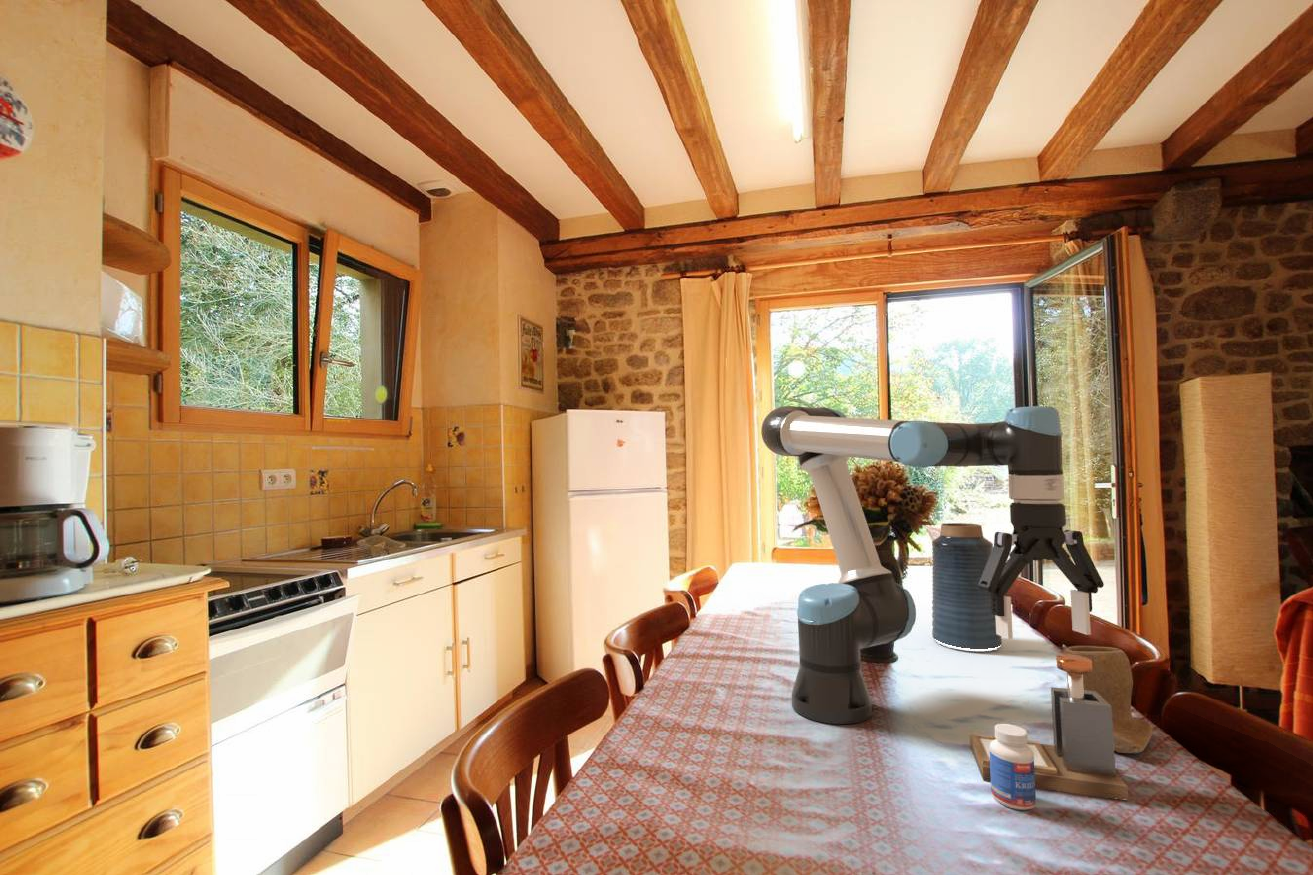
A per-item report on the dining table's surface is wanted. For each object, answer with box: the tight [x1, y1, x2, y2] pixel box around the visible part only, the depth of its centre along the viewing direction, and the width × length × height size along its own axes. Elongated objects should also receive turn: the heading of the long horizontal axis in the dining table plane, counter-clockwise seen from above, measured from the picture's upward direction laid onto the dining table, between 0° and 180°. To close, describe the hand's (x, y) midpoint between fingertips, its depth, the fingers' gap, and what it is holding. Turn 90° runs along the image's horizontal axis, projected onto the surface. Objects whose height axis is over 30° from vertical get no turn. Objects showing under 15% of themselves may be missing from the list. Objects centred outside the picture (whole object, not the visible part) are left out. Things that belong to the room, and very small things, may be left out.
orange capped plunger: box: [1055, 653, 1092, 700], centre depth 88 cm, size 4×4×12 cm
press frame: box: [1050, 686, 1117, 777], centre depth 88 cm, size 6×6×10 cm
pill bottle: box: [990, 723, 1037, 811], centre depth 82 cm, size 6×5×10 cm
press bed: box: [969, 732, 1129, 801], centre depth 89 cm, size 18×11×3 cm, turn 70°
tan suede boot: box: [1063, 645, 1154, 754], centre depth 101 cm, size 15×12×15 cm
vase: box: [931, 522, 1003, 649], centre depth 155 cm, size 16×16×32 cm
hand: (1043, 634), depth 93 cm, fingers open, 13 cm apart
